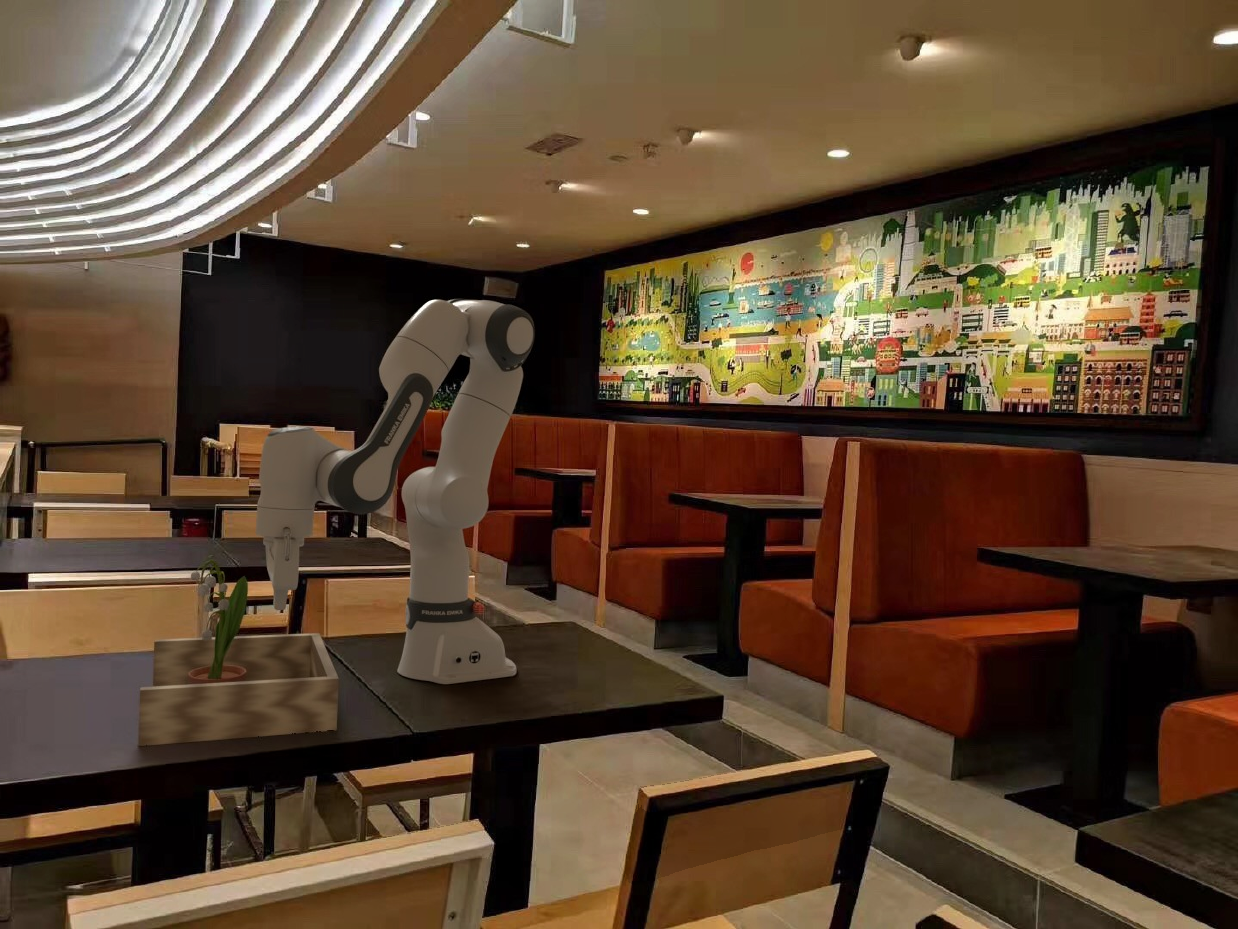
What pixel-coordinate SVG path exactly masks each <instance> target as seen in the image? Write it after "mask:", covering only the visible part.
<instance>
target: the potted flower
mask: <svg viewBox="0 0 1238 929" xmlns="http://www.w3.org/2000/svg"><path fill="white" fill-rule="evenodd" d="M208 558H212V559H210V560H208V561H206V562H205V560H206V559H208ZM213 558H214V555H208V556H206V557H204V559H203V560H202V562H201V566H199V567H198V568H197V570H196V571H193V572H191V573H190V578H188V579H189V580H191V581H196V582H200V584H199V585H198V586H197V588H196V589H197V590H196V591H197V592H198V594H197V596H200V597H205V596H209V597H208V601H207V603H205V604H204V605H203V606H204V607H203V608H204V610H203V612H206V613H209V612H212V613H211V614H210V616H209V618H208V621H207V624H206V629H204V630H203V631H202V632H201V638H202V639H200V640H204V641H207V640H212V637H213V631H212V630H210V629H208V628H209V625H210V624H209V623H210V621H211V619H212V617H213V616H214V615H215V614H218V615H219V619H218V621H217V623H216V626H215V632H214V634H215V636H214V637H215V657H214V660H213V663H212V666H207V667H201V668H197V669H194V670H192V671H190V672H189V673H188V677H189V681H188V685H189V684H207V683H224V682H242V681H246V676H245V675H246V673H247V671H246V669H244V668H242V667H238V666H231V665H223V659H224V657H225V655H226V653H227V651H228V649H229V647H230V644H231V642H232V640H233V639H234V637H235V636H236V635H237V634H238V633H239V631H240V628H241V627H240V626H241V624H242V622H243V619H244V617H245V612H246V611H247V610H246V609H247V602H248V592H249V582H248V580H247V578H246V575H244V576H242V577H240V579H238V580H237V582H236V584H235V586H234V587H233V590H232V592H231V594H230V596H229V598H228V599H226V595H227V592H228V591H227V590H228V585H227V583H225V580H226V575H225V573H224V571H221V569H220V567H219V564H218V562H216V560H215V559H213ZM204 562H205V563H204ZM203 563H204V564H203ZM210 564H212V565H213V566H212V567H210V570H209V572H208V573H207V574H206V575H205V576H204V574H205V571H206V568H207V567H208V566H209V565H210ZM201 568H202V570H201V573H200V572H199V571H198V570H200V569H201ZM214 568H215V570H213V569H214ZM213 574H217V579H216V577H215V576H212V575H213ZM217 580H218V583H216V582H217ZM217 584H218V590H217V592H216V591H214V592H212V593H210V592H211V590H210V589H211V588H215V587H217ZM213 594H215V595H216V596H218V597H219V598H218V599H219V601H218V607H216V608H217V609H218V610H215V611H214V604H213V603H212V602H210V600H211V597H212V595H213Z"/></svg>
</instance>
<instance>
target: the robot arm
mask: <svg viewBox="0 0 1238 929" xmlns="http://www.w3.org/2000/svg"><path fill="white" fill-rule="evenodd" d="M535 337H536V329H535V324H534V320H533V318H532V316H531V315H530V314H529V313H528V311H526V310H524V309H522V308H520V307H518V306H515V305H512V304H504V303H500V302H497V301H494V300H487V299H486V300H485V299H482V300H478V299H466V298H454V299H450V300H449V299H448V300H443V299H432V300H429V301H427V302H426V303H424V304H423V305H422V306H421V307H420V308H419V309H418V310H417V311H416V312H414V314H413V315H412V316H411V317H410V319H408V320H407V322H406V323H405V324H404V325H403V327H402V328H401V329H400V331H399V332H398V333H397V335H396V336H395V338H394V339H393V340H392V342H391V343H390V345H389V346H388V348H387V349H386V352H385V354H384V356H383V357H382V360H381V362H380V364H379V368H378V372H379V374H378V375H379V378H380V382H381V383H382V386H383V388H384V389H385V391H386V392H387V396H388V397H387V398H388V399H387V403H386V405H385V408H384V410H383V412H382V413H381V414H380V416H379V418H378V420H377V422H376V423H375V425H374V427H373V429H372V431H371V433H370V434H369V435H368V437H367V438H366V441H365V442H364V443H363V444H362V445H361V446H359V447H358V448H356V449H354V450H350V449H346V448H344V447H342V446H340V445H338V444H335V443H334V442H332V441H330V440H328V439H326V438H325V437H324V436H322V435H321V434H319V433H318V432H317V431H316V430H315V429H314V428H313V427H311V426H306V425H305V426H304V425H303V426H302V425H301V426H299V425H298V426H287V427H286V426H285V427H280V428H275V429H273V430H271V431H270V432H269V433H268V434H267V435H266V437H265V439H264V442H263V445H262V449H261V456H260V462H259V463H260V464H259V476H258V480H259V481H258V482H259V484H260V496H259V498H258V500H257V504H256V506H257V508H256V521H255V535H257V536H261V537H263V540H262V544H263V545H264V546H265V560H266V568H267V572H268V576H269V579H270V582H271V586H272V589H273V603H272V604H273V608H274V610H275V611H284V610H286V608H287V599H288V594H289V591H295V590H297V588H298V583H299V570H300V569H299V567H300V566H299V565H300V547H303V546H305V539H306V538H309V537H311V538H312V536H313V534H314V533H313V532H314V519H315V518H314V517H315V516H314V515H315V505H316V503H317V502H320V501H321V502H322V503H323V502H324V503H325V504H326V503H327V504H328V505H329V504H330V505H332V506H334V507H338V508H341V509H343V510H344V511H347V512H349V513H352V514H354V515H355V514H356V515H367V514H369V515H370V514H372V513H374V512H376V511H378V510H380V509H381V508H382V507H383V506H385V505H386V503H387V502H389V499H390V498H391V496H392V494H393V492H394V488H395V485H396V479H397V473H398V470H399V466H400V463H401V462H402V460H403V457H404V455H405V454H406V453H407V450H408V448H409V446H410V444H411V443H412V440H413V438H414V437H415V435H416V434H417V431H418V430H419V428H420V426H421V425H422V422H423V421H424V419H425V417H426V415H427V413H428V411H429V408H430V406H431V404H432V401H433V398H434V396H435V394H436V393H437V391H438V389H439V388H440V386H441V384H442V383H443V382H444V380H445V378H446V377H447V375H448V374H449V372H450V371H451V369H452V368H453V366H454V364H455V362H456V360H457V359H458V357H459V356H460V355H462V356H465V357H468V358H469V362H470V364H469V372H468V374H467V376H466V378H465V380H464V381H463V383H462V385H461V387H460V389H459V391H458V393H457V395H456V397H455V399H454V402H453V404H452V406H451V408H450V411H449V412H448V414H447V415H448V416H447V418H446V420H445V422H444V424H443V427H442V429H441V431H440V432H441V435H440V436H441V442H440V448H439V453H438V458H437V461H436V464H435V466H427V467H423V468H420V469H418V470H416V471H414V472H412V473H411V474H410V475H409V476H408V477H407V478H406V479H405V480H404V482H403V485H402V488H401V499H402V503H403V505H404V508H405V510H404V511H405V517H406V518H405V519H406V527H407V536H408V543H409V552H410V571H409V572H410V573H409V575H410V578H409V596H408V597H407V598H406V599H407V600H406V605H405V627H406V634H405V639H404V645H403V650H402V655H401V657H400V661H399V664H398V666H397V667H398V668H397V673H398V674H399V675H401V676H403V677H406V678H409V679H414V680H419V681H427V682H428V681H429V682H431V683H432V682H433V683H436V684H439V685H441V684H442V685H450V684H459V683H467V682H474V681H482V680H483V681H484V680H491V679H499V678H507V677H513V676H515V675H516V674H517V665H516V664H515V663H514V661H512V660H511V659H509V658H508V657H506V651H505V645H504V642H503V639H502V638H501V636H500V635H499V634H498V633H497V632H495V631H494V630H493V629H492V628H490V626H488V625H487V624H485V623H484V622H483V621H482V620H481V619H480V618H478V617H477V615H482V614H484V612H485V610H486V607H485V606H484V604H483V603H481V602H478V601H475V600H474V599H472V598H470V597H469V584H470V583H469V582H470V579H469V578H470V564H471V563H470V562H471V561H470V555H469V552H468V550H467V547H466V543H465V537H464V531H463V530H464V529H467V528H472V527H474V526H476V525H477V524H479V523H480V522H481V521H482V520H483V518H484V517H485V516H486V514H487V511H488V509H489V495H488V487H489V483H490V482H489V481H490V476H491V471H492V467H493V461H494V458H495V456H496V452H497V449H498V447H499V445H500V442H501V440H502V437H503V435H504V432H505V430H506V429H507V426H508V423H509V422H510V419H511V417H512V415H513V412H514V409H515V407H516V404H517V403H518V399H519V398H518V397H519V395H520V391H521V387H522V384H523V379H524V371H523V368H522V365H523V364H524V363H525V362H526V360H527V358H528V356H529V354H530V353H531V350H532V348H533V345H534V343H535Z"/></svg>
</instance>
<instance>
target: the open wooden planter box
mask: <svg viewBox="0 0 1238 929" xmlns="http://www.w3.org/2000/svg"><path fill="white" fill-rule="evenodd" d="M200 639H202V637H190V638H189V637H188V638H187V637H186V638H165V639H164V638H163V639H159V638H158V639H154V642H153V643H154V644H153V672H152V686H141V687H140V689H139V703H138V704H139V707H138V708H139V710H138V736H137V737H138V738H137V739H138V741H137V747H143V746H144V747H145V746H146V745H147V746H157V745H169V744H181V743H195V742H205V741H206V742H209V741H218V740H219V741H220V740H230V739H231V740H233V739H243V738H244V739H245V738H256V737H258V736H259V737H268V736H269V737H270V736H279V735H280V736H282V735H283V736H284V735H295V734H294V733H296V734H305V732H309V733H317V732H316V731H318V732H319V731H321V732H328V731H327V730H334V731H337V729H338V706H339V704H338V703H339V702H338V701H339V681H340V680H339V679H340V678H339V677H338V674H337V671H336V669H335V667H334V665H333V662H332V660H331V657H330V655H329V653H328V650H327V648H326V645H325V643H324V641H323V639H322V637H321V634H320V633H319V632H318V633H317V632H313V633H312V632H311V633H290V634H289V633H288V634H287V633H286V634H267V635H265V634H264V635H263V634H262V635H238V636H235V637H234V639H233V640H232V642H231V644H230V647H229V649H228V651H227V653H226V655H225V657H224V659H223V665H231V666H238V667H242V668H244V669H246V671H247V673H246V675H245V676H246V681H242V682H224V683H207V684H189V685H188V681H189V677H188V673H189V672H190V671H192V670H194V669H197V668H201V667H207V666H212V663H213V660H214V657H215V636H212V640H207V641H204V640H200ZM292 733H293V734H292ZM147 746H146V747H147Z"/></svg>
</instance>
